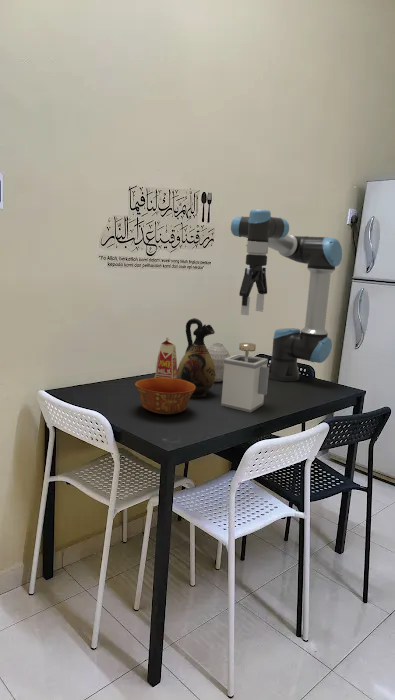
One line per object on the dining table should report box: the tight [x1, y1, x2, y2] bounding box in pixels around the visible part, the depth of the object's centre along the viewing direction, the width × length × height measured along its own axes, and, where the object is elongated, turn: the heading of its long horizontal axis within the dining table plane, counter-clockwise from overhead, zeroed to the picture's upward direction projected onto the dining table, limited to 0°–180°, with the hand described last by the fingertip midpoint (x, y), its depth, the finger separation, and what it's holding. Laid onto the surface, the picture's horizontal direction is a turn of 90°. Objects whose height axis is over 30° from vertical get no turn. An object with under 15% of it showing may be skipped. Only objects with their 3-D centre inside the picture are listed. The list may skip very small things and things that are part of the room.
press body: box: [220, 353, 269, 413], centre depth 193 cm, size 12×15×18 cm
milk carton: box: [153, 337, 178, 379], centre depth 218 cm, size 9×9×20 cm
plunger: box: [238, 342, 257, 362], centre depth 193 cm, size 9×9×22 cm
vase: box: [207, 341, 231, 383], centre depth 228 cm, size 13×13×17 cm
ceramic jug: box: [177, 317, 216, 398], centre depth 204 cm, size 17×15×30 cm
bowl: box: [134, 377, 196, 415], centre depth 182 cm, size 21×21×10 cm
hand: (252, 313), depth 190 cm, fingers open, 13 cm apart
